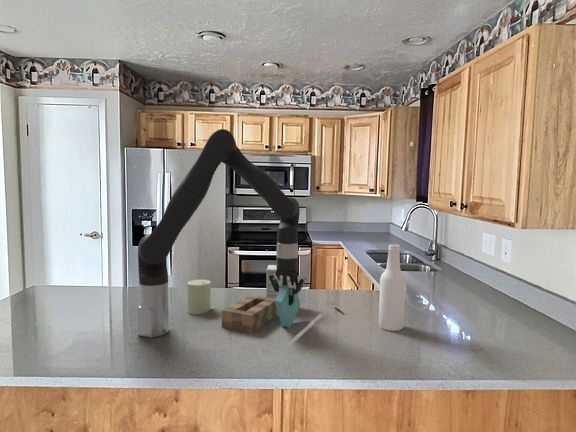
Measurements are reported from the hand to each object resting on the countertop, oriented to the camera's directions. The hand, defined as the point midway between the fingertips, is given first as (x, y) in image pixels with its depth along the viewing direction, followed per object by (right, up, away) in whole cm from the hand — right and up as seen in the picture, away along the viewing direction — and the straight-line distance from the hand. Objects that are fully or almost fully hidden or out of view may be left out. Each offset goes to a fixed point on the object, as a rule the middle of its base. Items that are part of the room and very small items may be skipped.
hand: (286, 303), depth 139 cm
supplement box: (-4, -7, +25) cm, 26 cm away
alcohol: (+38, -10, +5) cm, 39 cm away
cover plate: (+2, -6, +5) cm, 8 cm away
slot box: (-13, -8, +6) cm, 17 cm away
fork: (+20, -8, +24) cm, 32 cm away
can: (-35, -7, +19) cm, 40 cm away
